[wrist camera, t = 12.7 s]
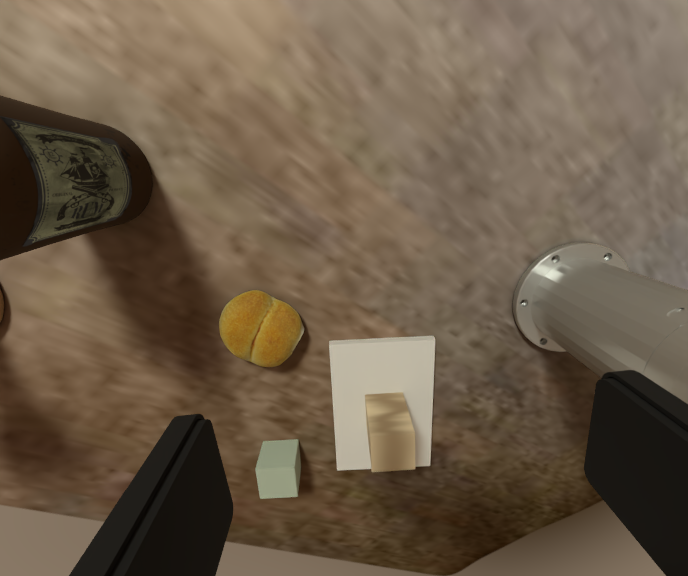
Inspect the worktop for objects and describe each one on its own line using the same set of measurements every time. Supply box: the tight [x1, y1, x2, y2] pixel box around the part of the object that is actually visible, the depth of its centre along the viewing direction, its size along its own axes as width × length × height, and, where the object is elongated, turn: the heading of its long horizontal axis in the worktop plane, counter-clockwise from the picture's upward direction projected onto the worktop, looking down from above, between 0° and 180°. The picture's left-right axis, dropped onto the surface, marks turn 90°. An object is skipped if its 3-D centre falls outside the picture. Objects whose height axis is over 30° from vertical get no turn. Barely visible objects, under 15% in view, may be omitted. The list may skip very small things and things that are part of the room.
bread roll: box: [219, 290, 304, 367], centre depth 38 cm, size 8×9×4 cm
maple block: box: [365, 392, 415, 472], centre depth 39 cm, size 4×4×7 cm
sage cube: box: [256, 440, 301, 499], centre depth 43 cm, size 4×4×4 cm
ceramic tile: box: [329, 336, 435, 470], centre depth 43 cm, size 12×18×1 cm, turn 3°
